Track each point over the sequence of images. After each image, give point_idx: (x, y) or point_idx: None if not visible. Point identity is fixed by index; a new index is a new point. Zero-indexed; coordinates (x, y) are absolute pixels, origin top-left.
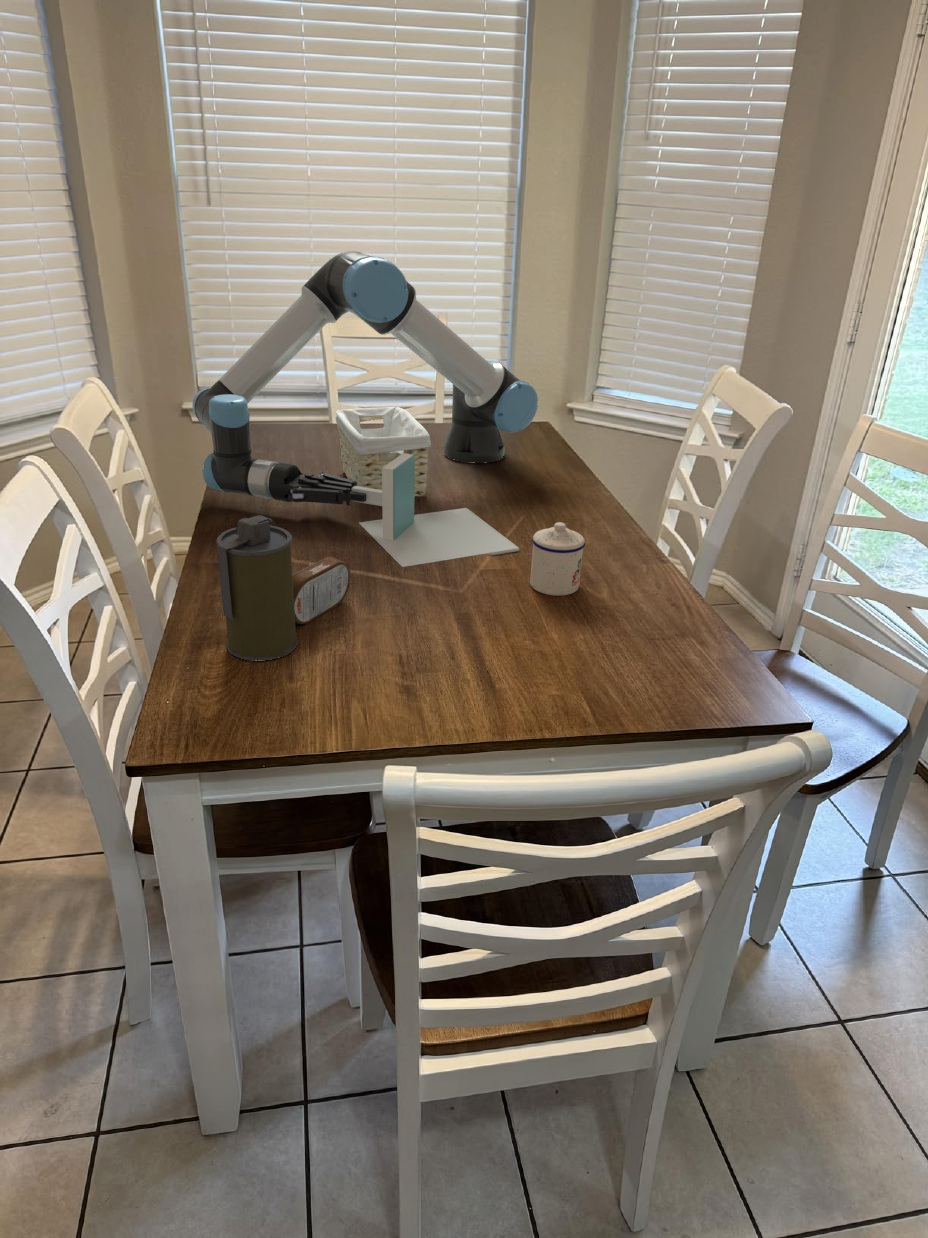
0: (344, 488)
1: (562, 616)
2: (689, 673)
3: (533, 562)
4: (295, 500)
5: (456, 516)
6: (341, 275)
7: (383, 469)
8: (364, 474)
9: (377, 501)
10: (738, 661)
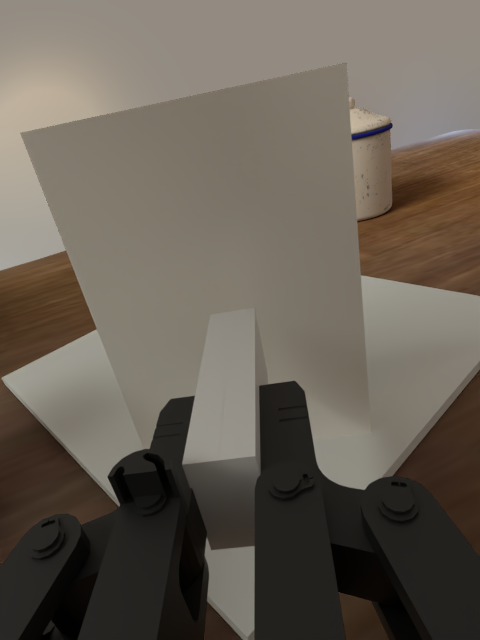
0: (282, 517)
1: (437, 186)
2: (454, 147)
3: (380, 168)
4: None
5: (78, 368)
6: None
7: (344, 75)
8: None
9: (264, 373)
10: (399, 149)
